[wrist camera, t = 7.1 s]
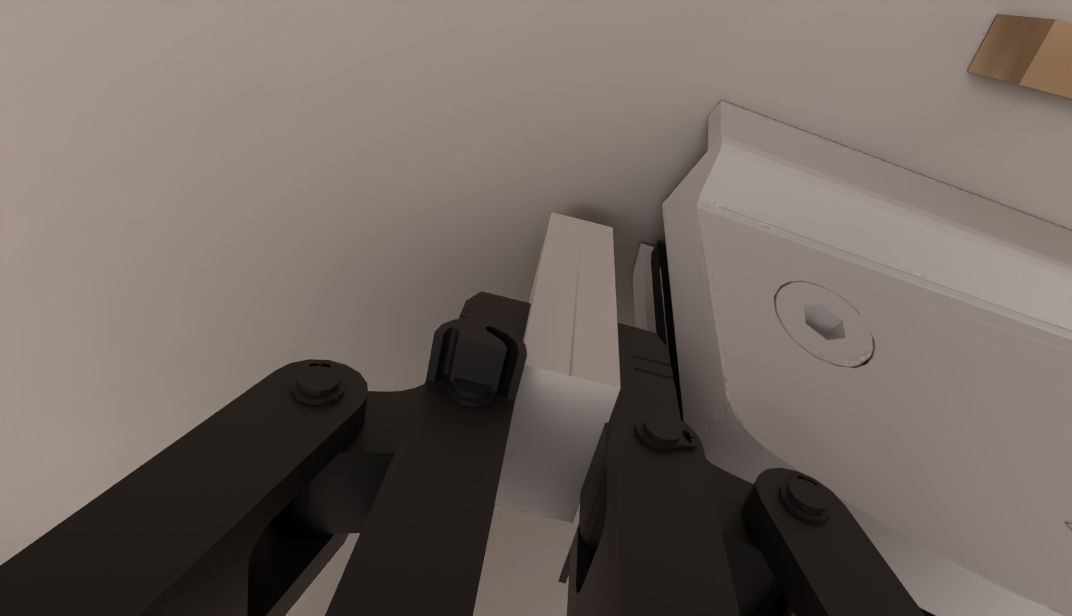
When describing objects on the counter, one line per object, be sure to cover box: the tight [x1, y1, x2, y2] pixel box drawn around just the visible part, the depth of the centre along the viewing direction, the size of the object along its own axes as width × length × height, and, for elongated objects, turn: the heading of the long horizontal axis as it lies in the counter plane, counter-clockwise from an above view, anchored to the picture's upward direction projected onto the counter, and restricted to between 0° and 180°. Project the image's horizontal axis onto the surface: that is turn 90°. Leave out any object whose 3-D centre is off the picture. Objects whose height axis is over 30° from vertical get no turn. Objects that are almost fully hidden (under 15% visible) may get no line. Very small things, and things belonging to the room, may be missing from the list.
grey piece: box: [633, 100, 1072, 616], centre depth 14 cm, size 17×5×10 cm, turn 71°
